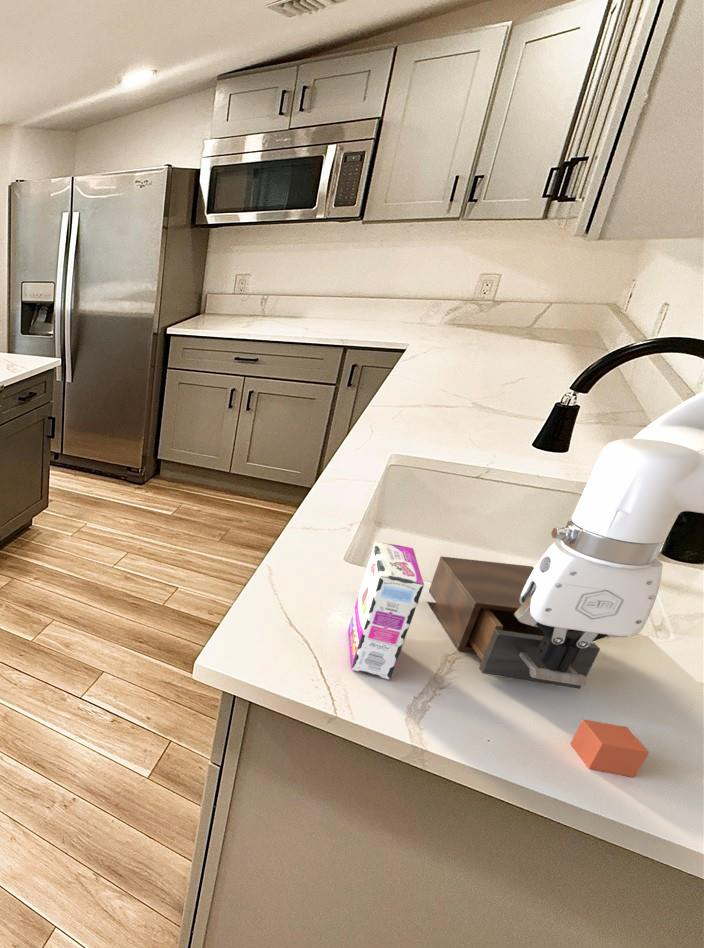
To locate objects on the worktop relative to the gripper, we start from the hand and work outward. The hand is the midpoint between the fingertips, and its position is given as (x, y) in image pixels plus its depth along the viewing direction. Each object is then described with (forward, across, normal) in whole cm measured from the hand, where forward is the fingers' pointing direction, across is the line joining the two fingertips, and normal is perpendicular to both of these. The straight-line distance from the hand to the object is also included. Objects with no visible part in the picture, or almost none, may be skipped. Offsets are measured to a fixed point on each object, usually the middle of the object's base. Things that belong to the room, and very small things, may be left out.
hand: (550, 664), depth 80 cm
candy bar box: (+6, -18, +4) cm, 19 cm away
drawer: (+5, 0, +6) cm, 8 cm away
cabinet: (+6, 0, +16) cm, 17 cm away
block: (+6, +2, -10) cm, 12 cm away
